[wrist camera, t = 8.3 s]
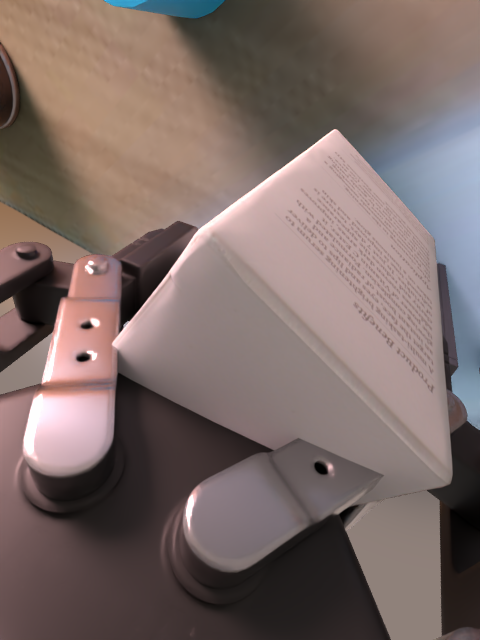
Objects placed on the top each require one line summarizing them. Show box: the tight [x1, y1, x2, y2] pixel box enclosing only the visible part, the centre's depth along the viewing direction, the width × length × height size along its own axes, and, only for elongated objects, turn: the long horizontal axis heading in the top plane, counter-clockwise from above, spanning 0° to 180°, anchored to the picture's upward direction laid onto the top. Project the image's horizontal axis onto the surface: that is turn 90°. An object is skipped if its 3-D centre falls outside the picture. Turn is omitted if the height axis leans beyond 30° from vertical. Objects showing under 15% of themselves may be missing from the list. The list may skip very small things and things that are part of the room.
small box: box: [112, 129, 453, 507], centre depth 12 cm, size 8×6×10 cm
